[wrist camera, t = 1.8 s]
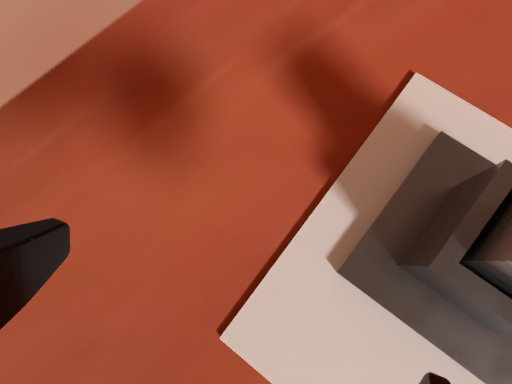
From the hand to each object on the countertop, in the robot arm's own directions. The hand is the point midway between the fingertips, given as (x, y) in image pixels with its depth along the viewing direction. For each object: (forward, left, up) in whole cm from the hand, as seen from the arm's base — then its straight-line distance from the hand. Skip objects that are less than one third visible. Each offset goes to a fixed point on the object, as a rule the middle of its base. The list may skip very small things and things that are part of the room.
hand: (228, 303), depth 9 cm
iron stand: (+4, -10, -14) cm, 18 cm away
